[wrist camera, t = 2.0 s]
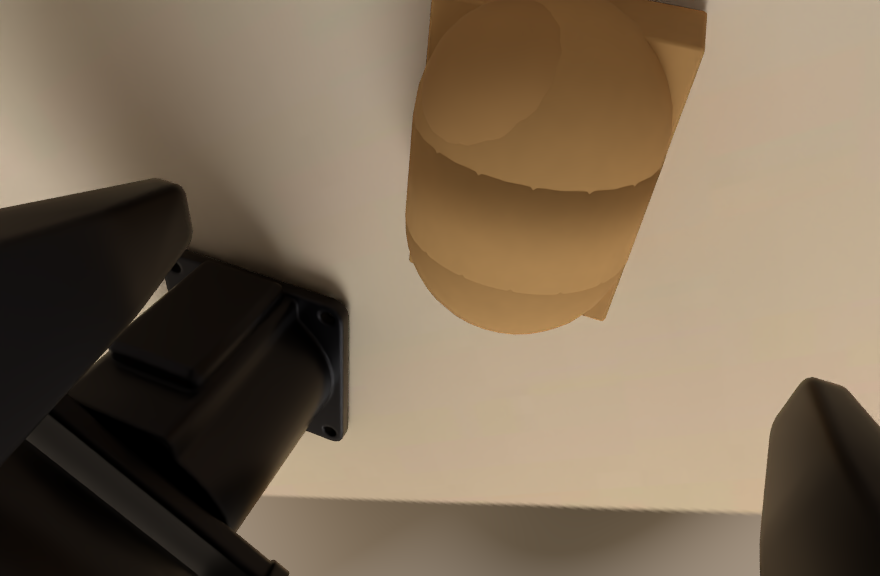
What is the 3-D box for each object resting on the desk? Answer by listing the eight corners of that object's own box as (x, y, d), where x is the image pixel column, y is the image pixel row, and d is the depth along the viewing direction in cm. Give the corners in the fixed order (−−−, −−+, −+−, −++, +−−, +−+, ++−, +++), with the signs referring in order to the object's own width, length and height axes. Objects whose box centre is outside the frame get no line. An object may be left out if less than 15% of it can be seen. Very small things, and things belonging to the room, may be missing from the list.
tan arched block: (613, 274, 15) (581, 412, 11) (442, 224, 16) (364, 338, 12) (717, -14, 11) (715, 65, 7) (478, -58, 11) (374, -8, 8)
